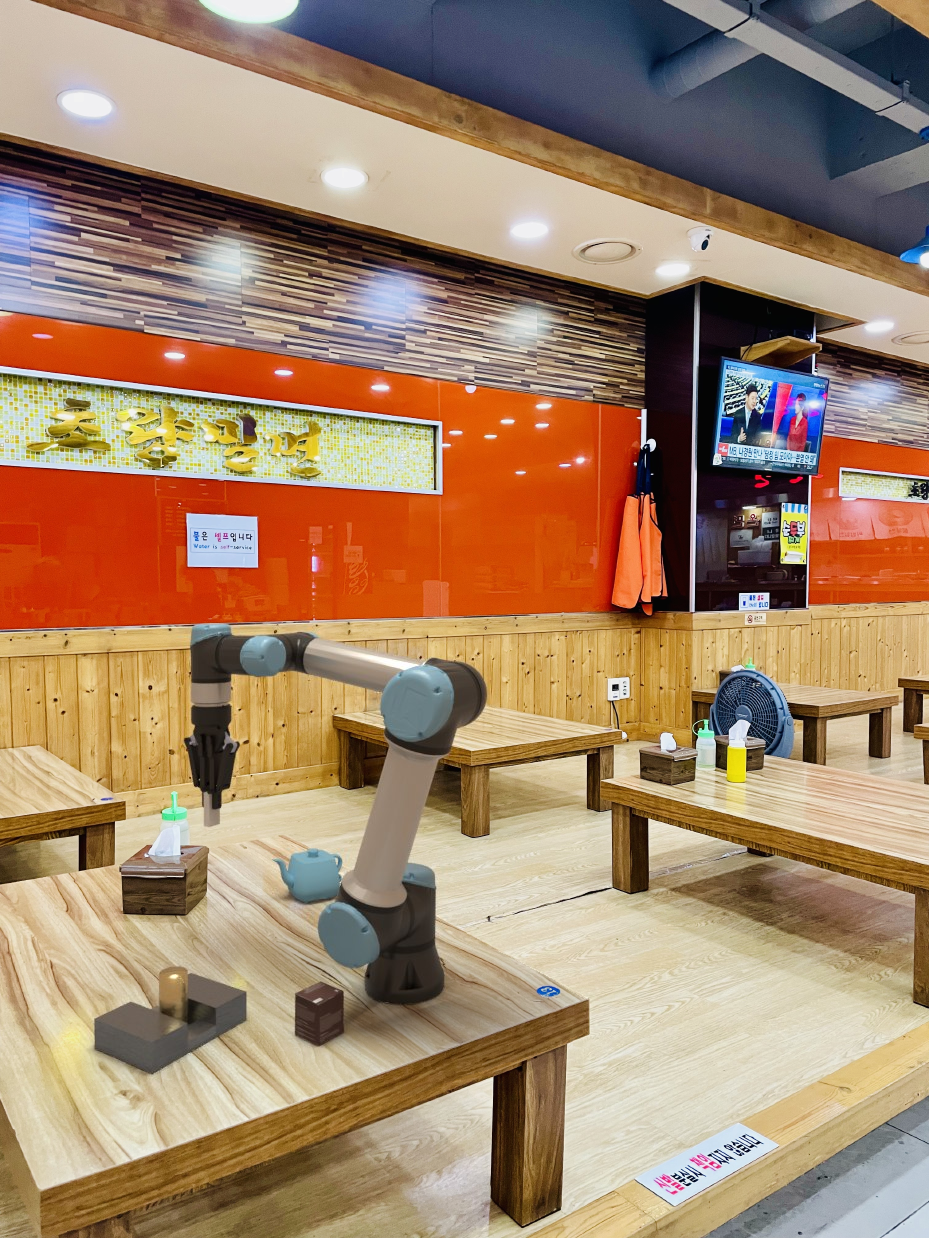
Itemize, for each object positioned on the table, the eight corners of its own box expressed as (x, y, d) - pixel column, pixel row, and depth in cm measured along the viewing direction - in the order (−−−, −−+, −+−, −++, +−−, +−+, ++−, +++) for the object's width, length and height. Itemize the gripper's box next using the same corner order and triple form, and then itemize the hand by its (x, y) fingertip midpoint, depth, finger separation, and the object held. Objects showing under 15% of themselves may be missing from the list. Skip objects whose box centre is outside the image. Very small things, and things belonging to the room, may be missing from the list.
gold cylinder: (193, 1028, 148) (193, 971, 147) (170, 1040, 144) (170, 981, 143) (175, 1020, 150) (175, 963, 150) (153, 1031, 146) (153, 973, 146)
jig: (246, 1019, 152) (246, 991, 152) (151, 1073, 135) (151, 1042, 134) (191, 999, 159) (190, 972, 159) (94, 1048, 142) (94, 1018, 142)
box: (321, 1021, 151) (321, 980, 151) (345, 1033, 147) (345, 990, 147) (293, 1035, 147) (293, 992, 146) (317, 1047, 143) (317, 1003, 143)
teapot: (263, 895, 213) (263, 849, 213) (332, 883, 223) (332, 838, 222) (280, 911, 203) (280, 863, 202) (351, 897, 212) (352, 851, 212)
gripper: (250, 703, 168) (250, 825, 168) (202, 699, 174) (202, 816, 175) (221, 708, 161) (221, 834, 162) (172, 703, 168) (173, 824, 169)
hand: (211, 824), depth 169 cm, fingers closed
